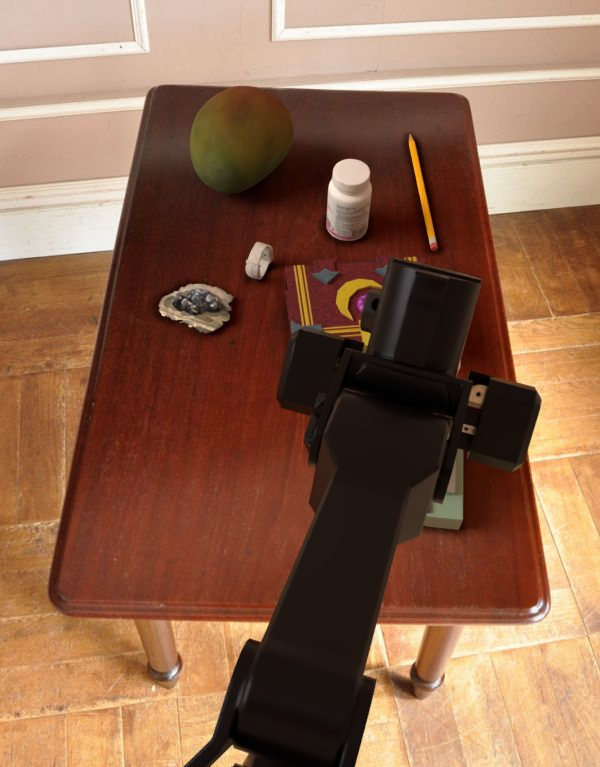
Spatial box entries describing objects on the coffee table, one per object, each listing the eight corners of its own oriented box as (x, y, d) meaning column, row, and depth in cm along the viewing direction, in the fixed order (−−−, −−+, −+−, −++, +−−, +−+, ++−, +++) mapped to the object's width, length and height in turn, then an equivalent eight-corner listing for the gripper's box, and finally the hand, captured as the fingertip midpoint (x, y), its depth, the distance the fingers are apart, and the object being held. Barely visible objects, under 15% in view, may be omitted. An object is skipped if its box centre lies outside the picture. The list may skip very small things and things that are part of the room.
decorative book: (282, 290, 92) (283, 259, 88) (429, 279, 94) (436, 248, 90) (294, 377, 86) (295, 348, 82) (451, 364, 88) (459, 335, 83)
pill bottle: (327, 210, 99) (331, 153, 92) (368, 213, 99) (375, 157, 92) (324, 240, 97) (327, 185, 90) (366, 244, 96) (373, 189, 89)
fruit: (296, 143, 105) (298, 73, 97) (285, 216, 99) (285, 148, 90) (203, 134, 106) (196, 65, 98) (184, 207, 99) (176, 138, 91)
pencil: (430, 251, 96) (431, 247, 96) (406, 135, 107) (407, 131, 106) (437, 251, 96) (438, 246, 96) (412, 135, 107) (413, 131, 106)
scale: (458, 530, 78) (464, 517, 75) (326, 515, 78) (328, 502, 76) (459, 417, 84) (464, 402, 82) (337, 404, 85) (339, 389, 82)
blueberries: (228, 338, 89) (227, 327, 87) (151, 332, 89) (149, 320, 87) (236, 288, 92) (236, 277, 91) (163, 282, 93) (161, 270, 91)
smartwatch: (260, 288, 93) (260, 263, 89) (242, 282, 93) (241, 257, 90) (273, 265, 94) (273, 240, 91) (255, 259, 95) (255, 234, 92)
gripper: (575, 335, 53) (552, 313, 68) (289, 263, 56) (328, 257, 71) (525, 501, 56) (513, 444, 71) (253, 424, 58) (298, 385, 73)
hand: (413, 379), depth 71 cm, fingers closed on cup, 7 cm apart
